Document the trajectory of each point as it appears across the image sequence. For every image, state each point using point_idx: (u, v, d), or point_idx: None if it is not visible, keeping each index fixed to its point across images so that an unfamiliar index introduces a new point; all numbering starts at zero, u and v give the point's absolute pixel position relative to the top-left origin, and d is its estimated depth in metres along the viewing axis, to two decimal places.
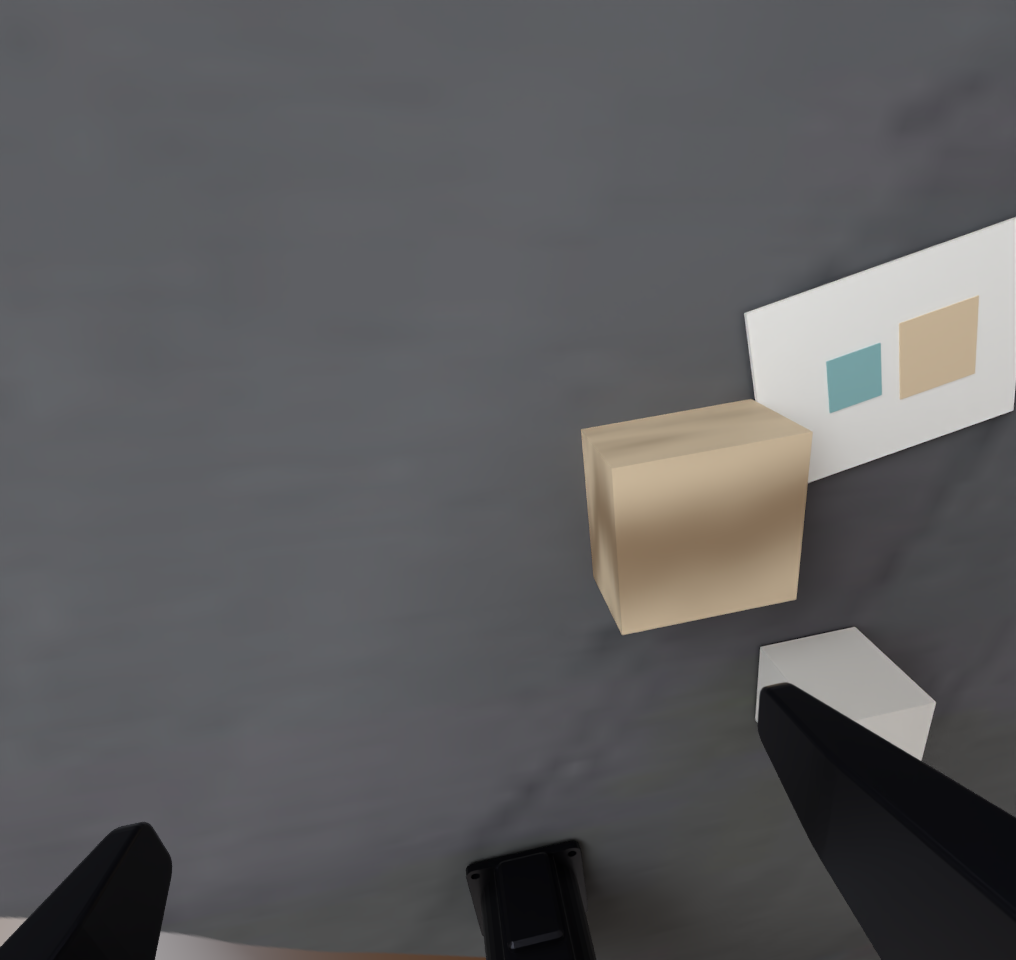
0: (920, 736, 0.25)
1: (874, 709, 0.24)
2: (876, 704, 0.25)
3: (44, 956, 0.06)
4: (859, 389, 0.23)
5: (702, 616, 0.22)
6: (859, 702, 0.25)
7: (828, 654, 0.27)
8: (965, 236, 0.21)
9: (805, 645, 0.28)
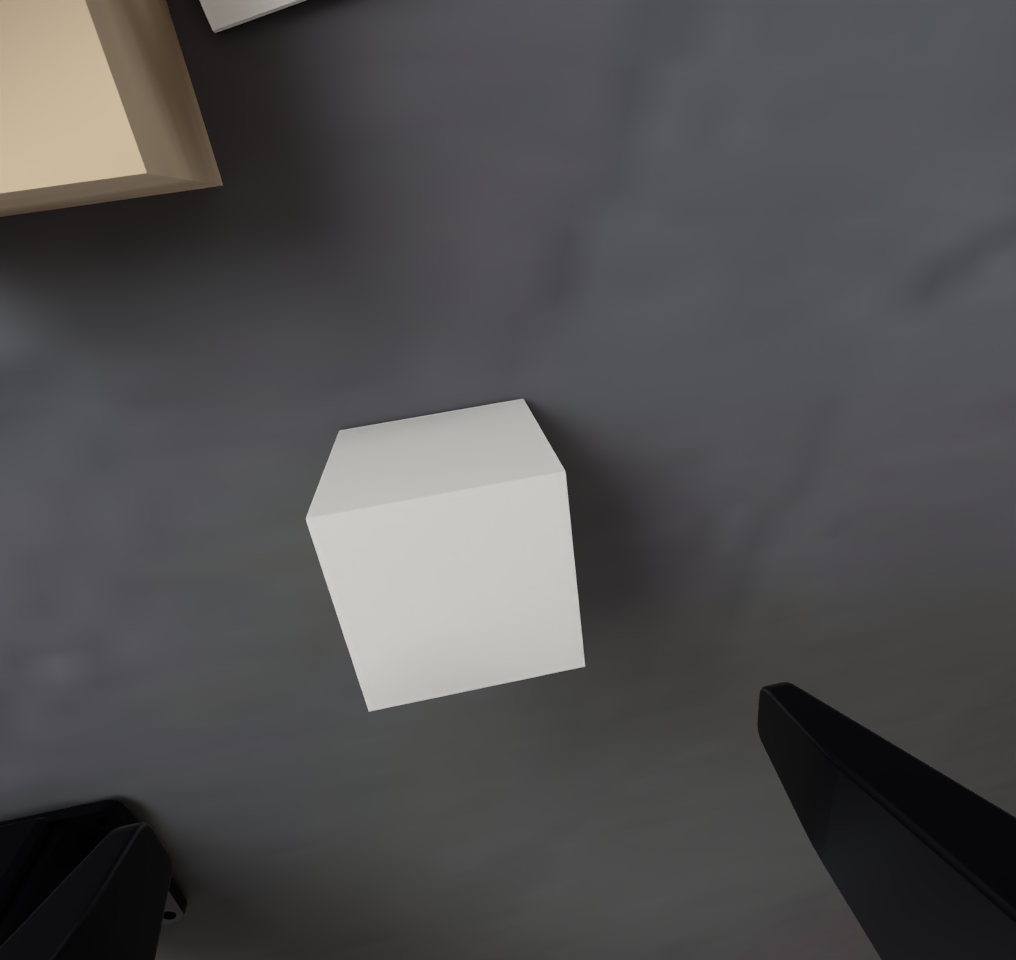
0: (557, 559, 0.12)
1: (435, 488, 0.11)
2: (444, 482, 0.11)
3: (44, 956, 0.06)
4: None
5: None
6: (417, 481, 0.12)
7: (440, 429, 0.14)
8: None
9: (415, 423, 0.15)
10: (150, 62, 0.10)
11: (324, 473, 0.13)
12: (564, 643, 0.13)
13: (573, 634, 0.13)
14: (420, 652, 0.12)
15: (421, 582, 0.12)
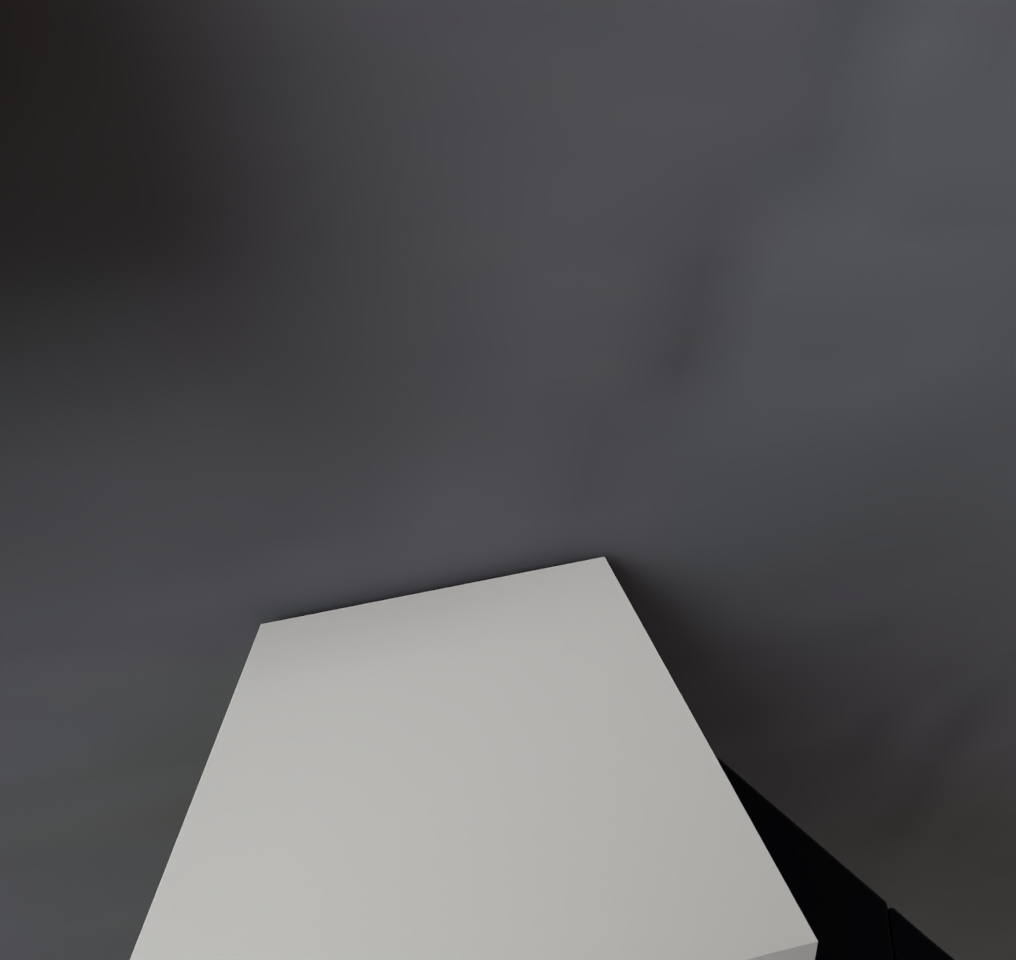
0: None
1: None
2: (475, 941, 0.04)
3: None
4: None
5: None
6: (403, 916, 0.04)
7: (453, 650, 0.07)
8: None
9: (403, 619, 0.08)
10: None
11: (190, 814, 0.05)
12: None
13: None
14: None
15: None
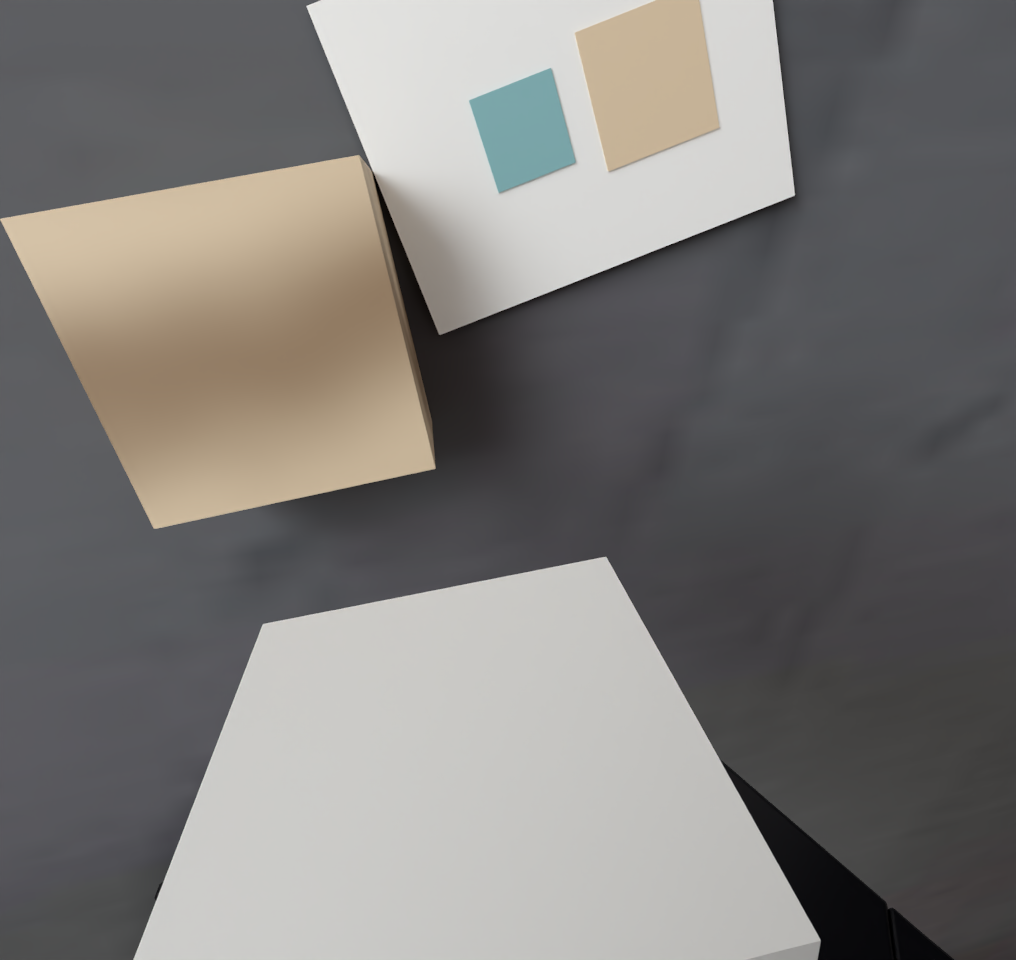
0: None
1: None
2: (479, 941, 0.04)
3: None
4: (537, 152, 0.15)
5: (283, 497, 0.14)
6: (405, 915, 0.04)
7: (455, 650, 0.07)
8: None
9: (406, 618, 0.08)
10: (418, 379, 0.15)
11: (193, 814, 0.06)
12: None
13: None
14: None
15: None
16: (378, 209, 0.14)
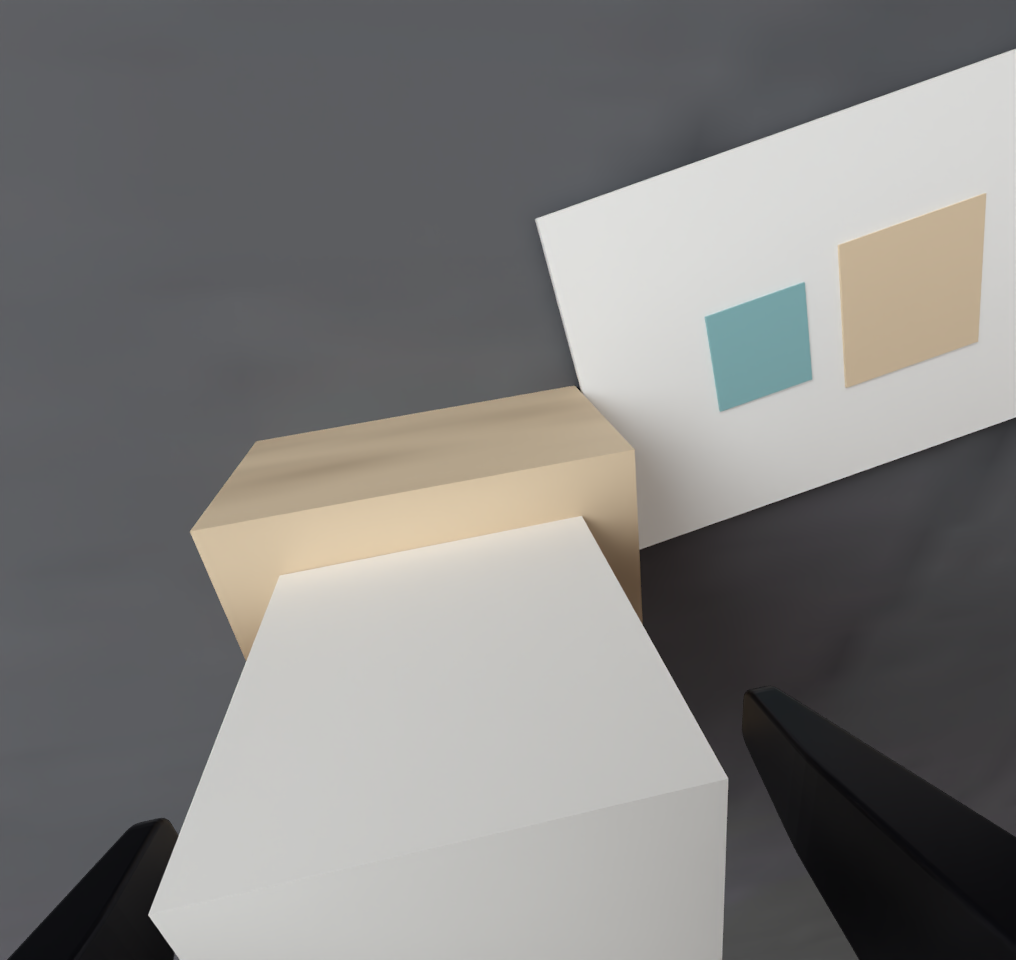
0: (690, 916, 0.06)
1: (442, 812, 0.05)
2: (461, 788, 0.05)
3: (69, 950, 0.06)
4: (770, 368, 0.13)
5: None
6: (405, 775, 0.06)
7: (447, 590, 0.08)
8: (961, 69, 0.11)
9: (404, 567, 0.09)
10: None
11: (228, 714, 0.07)
12: None
13: None
14: None
15: None
16: None
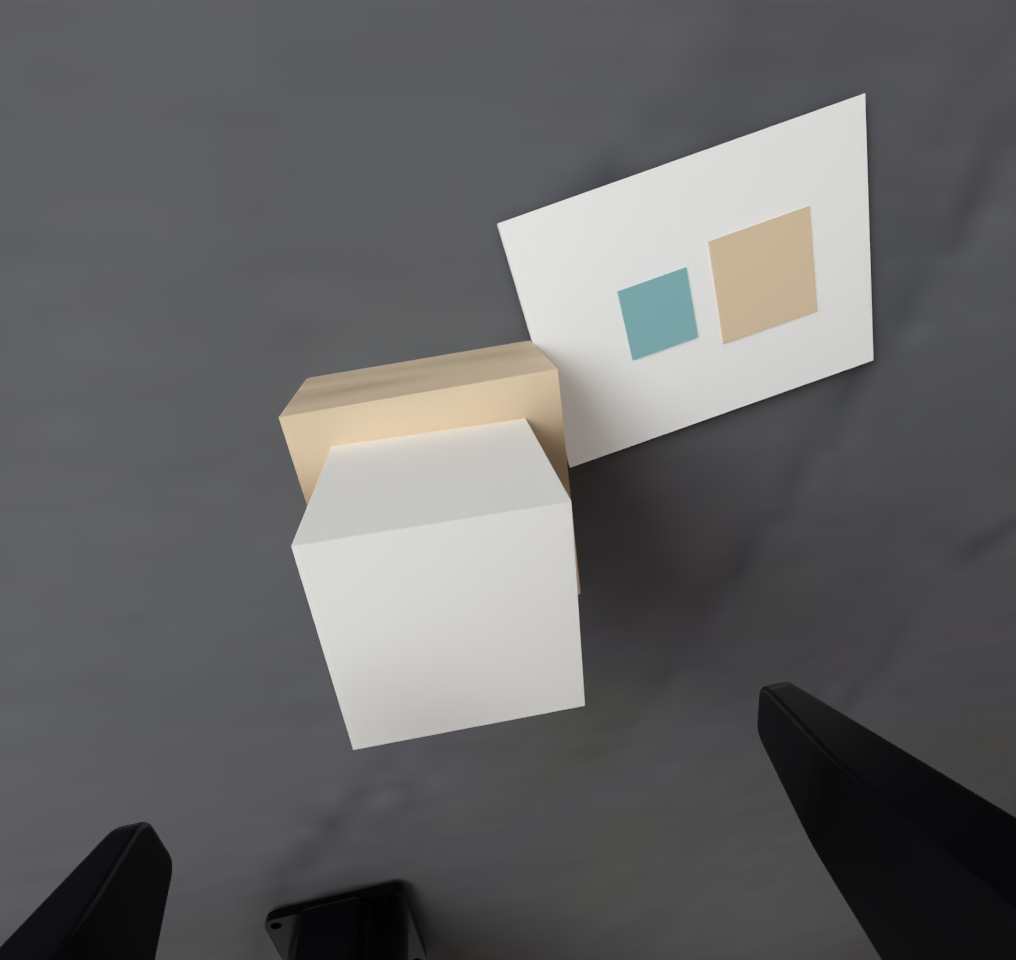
0: (559, 593, 0.11)
1: (431, 516, 0.10)
2: (442, 509, 0.11)
3: (44, 956, 0.06)
4: (667, 329, 0.18)
5: None
6: (412, 508, 0.11)
7: (437, 449, 0.14)
8: (781, 123, 0.16)
9: (411, 442, 0.14)
10: None
11: (313, 494, 0.12)
12: (563, 681, 0.12)
13: (573, 672, 0.12)
14: (410, 688, 0.12)
15: (413, 615, 0.11)
16: None
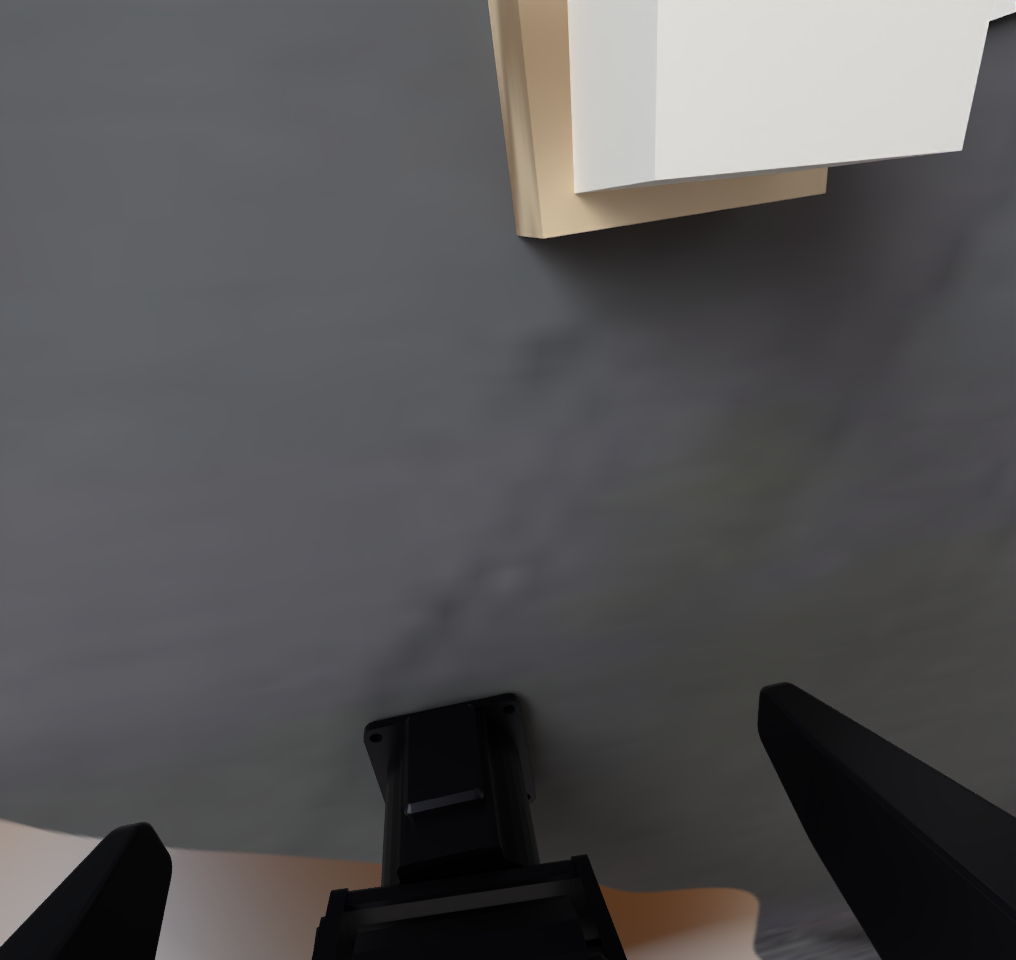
0: None
1: None
2: None
3: (44, 956, 0.06)
4: None
5: (674, 212, 0.14)
6: None
7: None
8: None
9: None
10: None
11: None
12: (949, 92, 0.09)
13: (966, 75, 0.09)
14: (754, 62, 0.08)
15: None
16: None
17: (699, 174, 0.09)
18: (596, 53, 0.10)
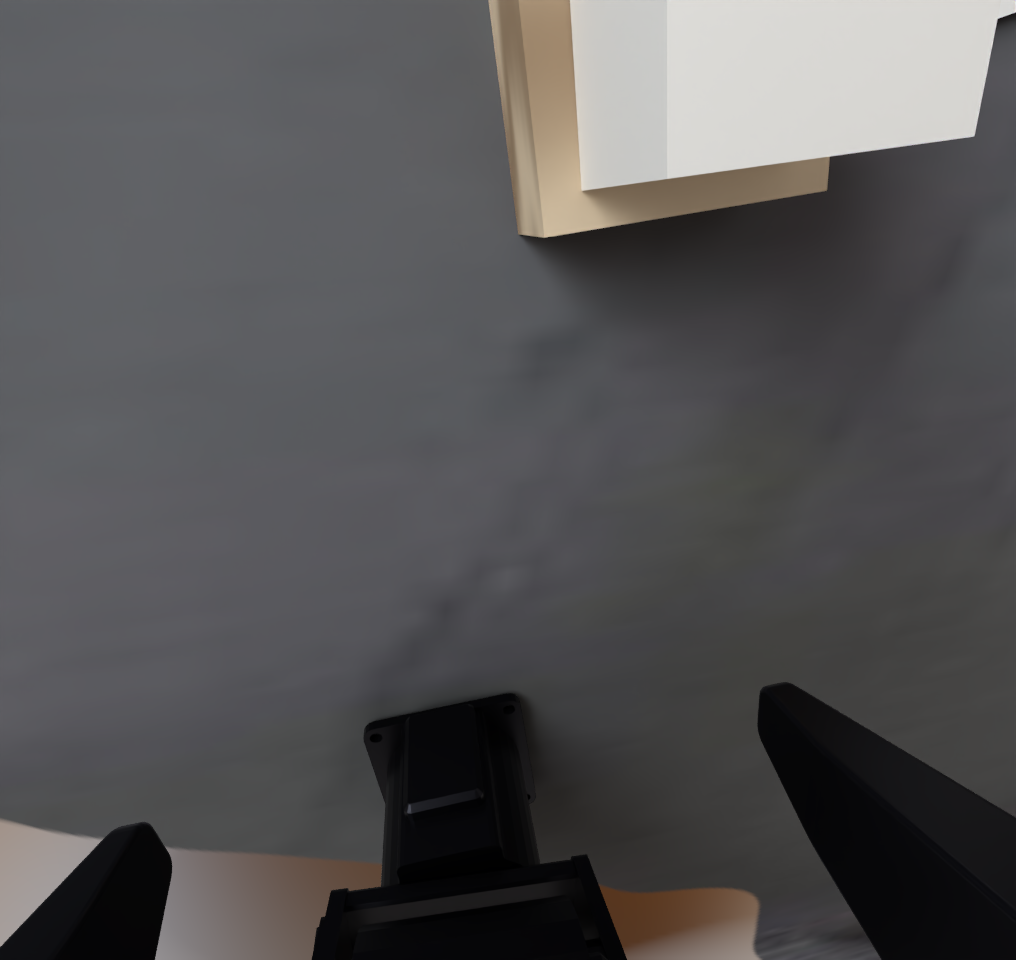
0: None
1: None
2: None
3: (44, 956, 0.06)
4: None
5: (675, 211, 0.14)
6: None
7: None
8: None
9: None
10: None
11: None
12: (960, 78, 0.09)
13: (977, 60, 0.09)
14: (764, 56, 0.08)
15: None
16: None
17: (711, 171, 0.09)
18: (601, 51, 0.10)
